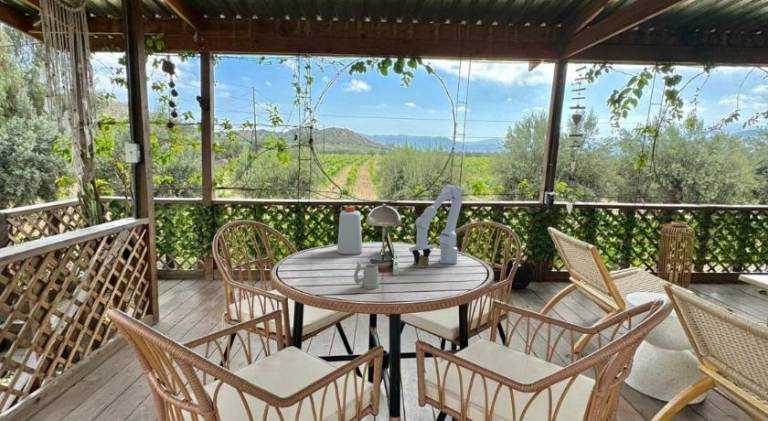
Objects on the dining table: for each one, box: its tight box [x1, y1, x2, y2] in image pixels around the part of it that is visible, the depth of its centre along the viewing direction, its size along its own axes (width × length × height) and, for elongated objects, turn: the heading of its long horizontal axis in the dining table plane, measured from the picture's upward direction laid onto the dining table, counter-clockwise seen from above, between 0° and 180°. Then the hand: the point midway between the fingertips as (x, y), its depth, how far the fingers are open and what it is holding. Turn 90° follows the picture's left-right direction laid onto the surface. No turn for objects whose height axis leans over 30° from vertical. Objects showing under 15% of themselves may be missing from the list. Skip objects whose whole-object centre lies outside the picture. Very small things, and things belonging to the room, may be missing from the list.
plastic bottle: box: [337, 206, 363, 256], centre depth 232 cm, size 15×15×28 cm
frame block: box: [413, 253, 430, 268], centre depth 209 cm, size 5×8×5 cm, turn 27°
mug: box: [353, 261, 380, 290], centre depth 175 cm, size 8×12×12 cm, turn 99°
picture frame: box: [379, 227, 395, 259], centre depth 227 cm, size 23×9×15 cm, turn 179°
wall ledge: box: [392, 254, 400, 276], centre depth 205 cm, size 2×26×5 cm, turn 177°
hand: (421, 262), depth 209 cm, fingers closed on frame block, 5 cm apart
